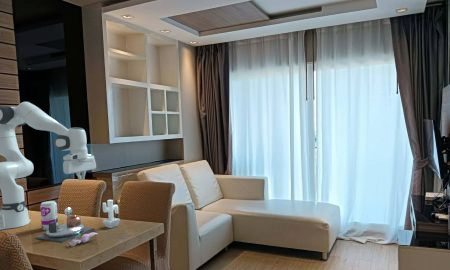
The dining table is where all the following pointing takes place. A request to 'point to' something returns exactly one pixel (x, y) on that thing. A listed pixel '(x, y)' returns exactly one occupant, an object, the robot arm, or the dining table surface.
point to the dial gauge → (68, 211)
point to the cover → (73, 221)
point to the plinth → (65, 238)
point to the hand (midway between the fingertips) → (81, 179)
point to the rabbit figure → (83, 239)
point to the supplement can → (48, 214)
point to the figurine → (110, 214)
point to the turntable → (63, 230)
